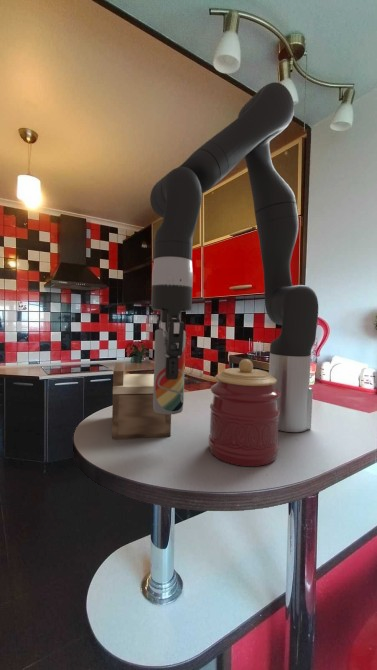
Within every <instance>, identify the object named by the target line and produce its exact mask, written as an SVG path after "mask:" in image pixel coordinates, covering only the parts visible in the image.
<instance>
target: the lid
mask: <svg viewBox="0 0 377 670" xmlns="http://www.w3.org/2000/svg"><path fill="white" fill-rule="evenodd" d="M124 370H125V363H124V362H115V364H114V367H113V373H112V374H113V379H112V395H113V394H153V392H154V373H132V374H131V373H130V374H129V373H127V374H126V373H125V371H124Z"/></svg>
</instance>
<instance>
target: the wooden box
mask: <svg viewBox="0 0 377 670" xmlns="http://www.w3.org/2000/svg"><path fill="white" fill-rule="evenodd" d="M111 417H112V418H111V419H112V420H111V421H112V423H111V439H112V440H119V439H120V440H123V439H142V438H144V439H145V438H161V437H162V438H163V437H166V438H167V437H171V436H172V435H171V432H172V431H171V430H172V414H169V415H168V414H160V413H156V412H155V411H154V409H153V394H113V393H112V415H111Z"/></svg>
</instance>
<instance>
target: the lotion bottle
mask: <svg viewBox="0 0 377 670" xmlns="http://www.w3.org/2000/svg"><path fill="white" fill-rule="evenodd" d="M166 320H167V313H166V311H164V310H161V311H160V321H165V322H166ZM180 321H182V312H180ZM164 334H165V335H166V339H167V340H168V332H167V330H166V331H164ZM186 339H187V338H186V331H185V330H184V333H183V345H182V356H180V358H178V359H179V362H178V378H177V379H166V356H165V353H166V346H165V345H164V344H163V330H161V329H160V328H159V329H156V330H155V332H154V361H153V374H154V392H153V409H154V411H155V412H156V413H160V414H168V415H169V414H171V415H178V414H180V413H182V412H183V410H184V398H185V397H184V396H185V395H184V394H185V368H186V367H185V365H186V364H185V363H186ZM171 349H177V346H176V345H171Z"/></svg>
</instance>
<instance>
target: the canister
mask: <svg viewBox="0 0 377 670" xmlns="http://www.w3.org/2000/svg"><path fill="white" fill-rule="evenodd" d="M214 378H215V380H217V382H216V383H214V384H213V385H211V387H210V391H211V393H212V402H211V403H210V404H209V408H210V421H209V422H210V423H209V435H208V445H209V451H210V452H211V454H212V455H213V456H214V457H215V458H217V459H219V460H221V461H223V462H225V463H228V464H231V465H235V466H236V465H237V466H242V467H259V466H265V465H266V466H267V465H268V464H271V463H272V462H274V461H275V460H276V458H277V455H278V452H279V445H280V443H279V441H278V440H279V430H278V425H279V414H280V410H279V408H278V398H279V397H280V396H281V392H280V391H279V390H278V389H276V388H275V386H274V384H275V383H276V382H277V380H276V379H275V378H274V377H272V376H271V375H270V374H269V371H266V370H261V369H257V368H254V362H252V360H250V359H249V358H244V359H241V360H240V361H239V364H238V367H231V368H225V369H223V370H222V371H220V373H219V372H218V373H217V374H216V375H215V377H214Z"/></svg>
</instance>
